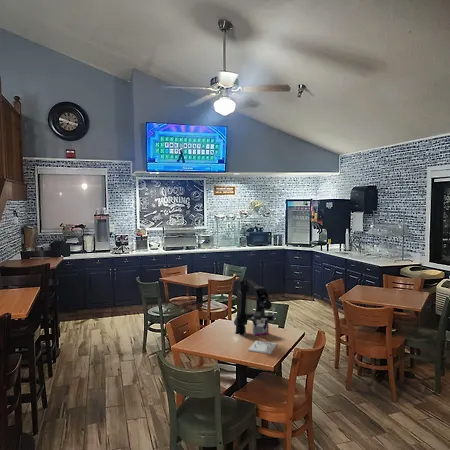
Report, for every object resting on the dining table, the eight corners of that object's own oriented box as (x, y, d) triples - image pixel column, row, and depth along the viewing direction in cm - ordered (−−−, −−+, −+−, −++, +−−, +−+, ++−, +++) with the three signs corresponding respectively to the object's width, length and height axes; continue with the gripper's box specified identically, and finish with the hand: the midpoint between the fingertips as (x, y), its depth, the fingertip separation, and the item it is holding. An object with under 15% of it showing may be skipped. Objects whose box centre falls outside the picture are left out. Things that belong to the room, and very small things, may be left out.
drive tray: (248, 350, 254) (248, 346, 253) (255, 341, 270) (255, 337, 270) (270, 353, 248) (270, 349, 248) (276, 344, 265) (276, 340, 265)
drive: (254, 332, 257) (254, 326, 257) (258, 328, 267) (258, 322, 267) (262, 333, 255) (262, 327, 255) (266, 329, 265) (266, 323, 264)
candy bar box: (265, 332, 291) (265, 310, 290) (268, 334, 287) (268, 312, 286) (252, 334, 287) (252, 312, 286) (255, 336, 282) (255, 314, 282)
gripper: (243, 308, 256) (243, 331, 257) (270, 310, 250) (271, 334, 250) (248, 304, 267) (248, 326, 267) (275, 306, 260) (275, 329, 260)
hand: (260, 329), depth 261 cm, fingers closed on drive, 6 cm apart
